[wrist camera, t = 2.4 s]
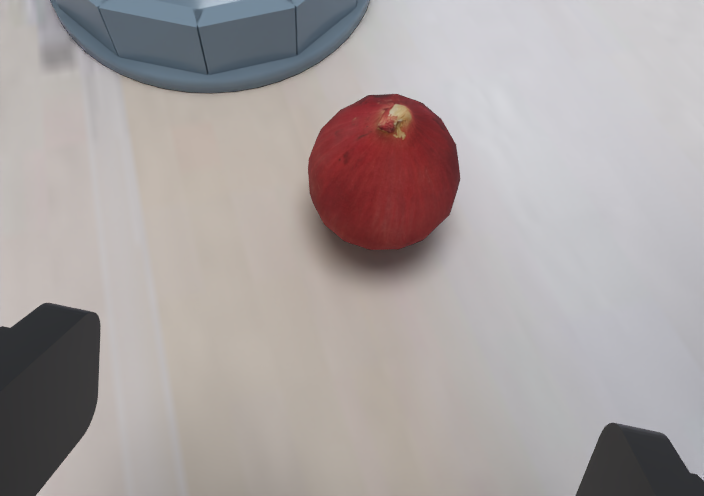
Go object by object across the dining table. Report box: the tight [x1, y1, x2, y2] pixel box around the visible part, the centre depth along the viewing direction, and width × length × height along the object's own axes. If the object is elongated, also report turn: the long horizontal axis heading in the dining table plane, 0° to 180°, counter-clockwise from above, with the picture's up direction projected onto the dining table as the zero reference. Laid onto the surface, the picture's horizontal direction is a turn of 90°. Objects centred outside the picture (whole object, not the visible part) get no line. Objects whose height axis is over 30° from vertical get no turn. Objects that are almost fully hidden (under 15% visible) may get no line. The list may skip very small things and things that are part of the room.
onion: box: [308, 94, 460, 250], centre depth 23 cm, size 6×6×8 cm
